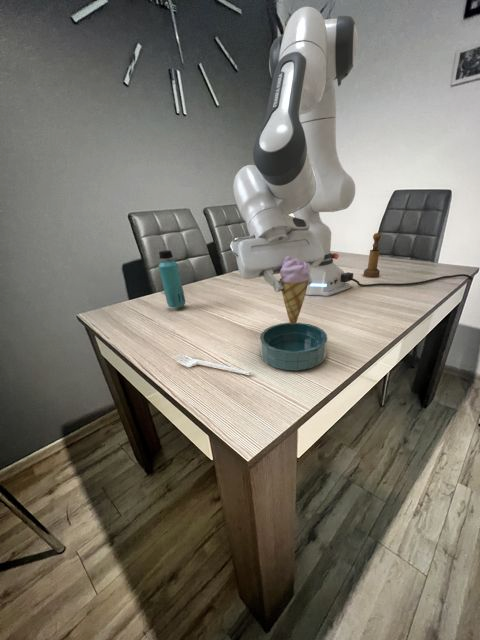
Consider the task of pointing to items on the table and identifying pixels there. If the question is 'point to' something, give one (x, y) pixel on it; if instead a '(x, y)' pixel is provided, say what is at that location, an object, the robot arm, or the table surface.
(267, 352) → the bowl
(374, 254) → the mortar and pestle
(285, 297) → the ice cream cone
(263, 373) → the table surface
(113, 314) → the table surface
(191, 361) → the fork
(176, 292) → the beverage bottle
